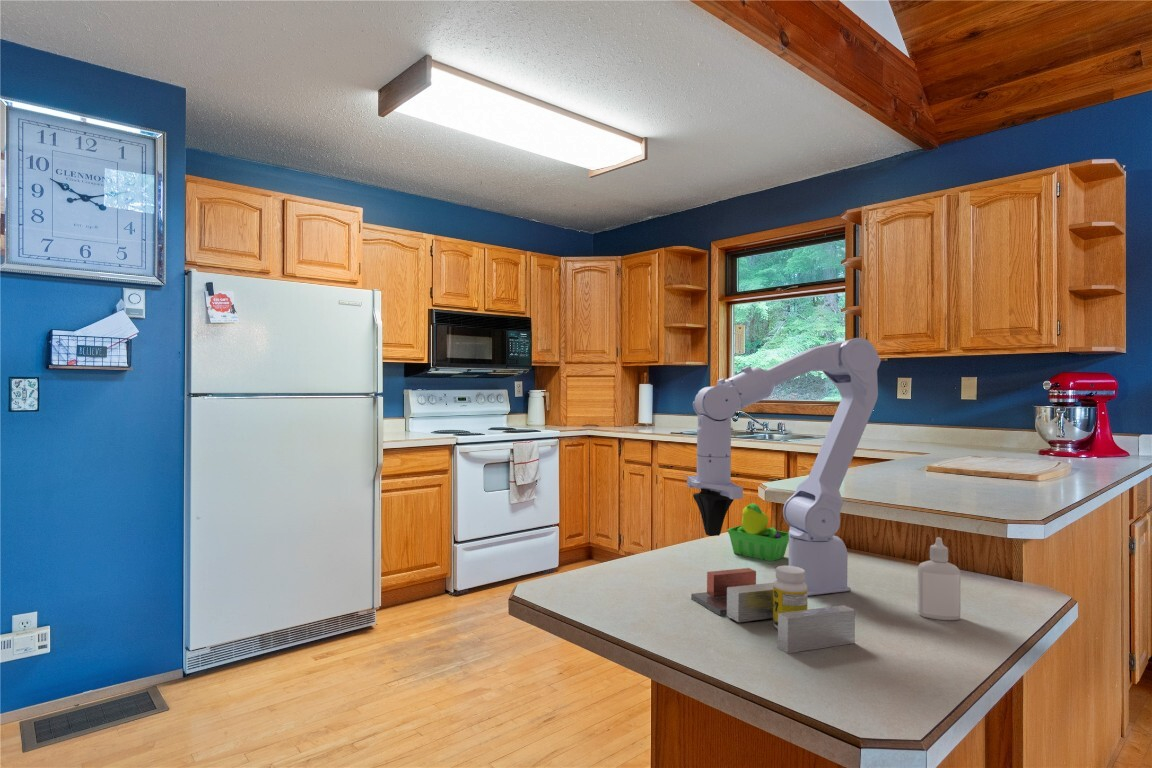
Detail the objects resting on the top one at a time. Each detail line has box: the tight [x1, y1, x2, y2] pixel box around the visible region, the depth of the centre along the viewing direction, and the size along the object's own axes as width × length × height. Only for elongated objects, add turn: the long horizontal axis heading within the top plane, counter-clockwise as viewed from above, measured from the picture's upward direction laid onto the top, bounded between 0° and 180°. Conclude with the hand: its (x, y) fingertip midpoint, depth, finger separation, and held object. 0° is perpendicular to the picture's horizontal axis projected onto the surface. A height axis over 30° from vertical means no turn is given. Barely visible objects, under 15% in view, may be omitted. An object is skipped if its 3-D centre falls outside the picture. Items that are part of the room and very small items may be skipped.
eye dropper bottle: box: [916, 536, 961, 621], centre depth 99 cm, size 4×6×12 cm
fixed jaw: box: [777, 604, 856, 654], centre depth 86 cm, size 11×2×4 cm, turn 110°
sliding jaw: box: [706, 567, 774, 623], centre depth 101 cm, size 11×11×4 cm
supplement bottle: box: [772, 565, 809, 630], centre depth 93 cm, size 5×5×8 cm
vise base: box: [690, 591, 727, 617], centre depth 103 cm, size 12×8×1 cm
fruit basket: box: [727, 502, 789, 562], centre depth 135 cm, size 11×9×11 cm
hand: (712, 535), depth 111 cm, fingers closed
